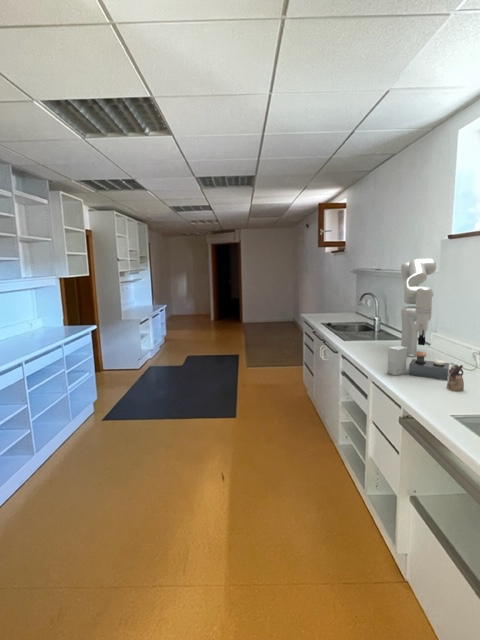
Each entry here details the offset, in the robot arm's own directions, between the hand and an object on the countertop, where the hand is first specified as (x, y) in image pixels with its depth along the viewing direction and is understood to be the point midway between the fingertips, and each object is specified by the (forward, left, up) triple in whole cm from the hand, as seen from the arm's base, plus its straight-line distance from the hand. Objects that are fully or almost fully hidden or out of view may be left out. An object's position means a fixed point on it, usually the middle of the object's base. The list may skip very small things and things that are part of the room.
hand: (421, 344), depth 194 cm
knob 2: (0, +9, -16) cm, 18 cm away
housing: (-1, +4, -16) cm, 17 cm away
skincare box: (+6, -11, -16) cm, 20 cm away
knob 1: (-1, 0, -12) cm, 12 cm away
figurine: (+17, +17, -16) cm, 30 cm away
